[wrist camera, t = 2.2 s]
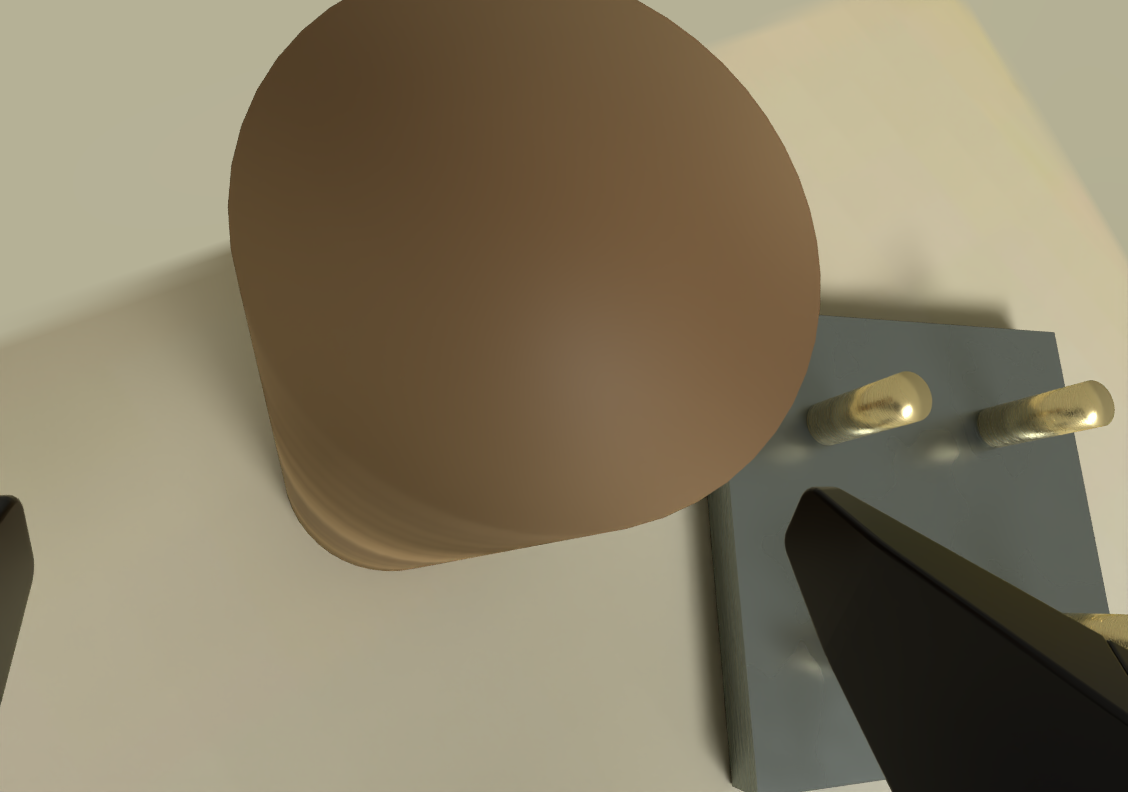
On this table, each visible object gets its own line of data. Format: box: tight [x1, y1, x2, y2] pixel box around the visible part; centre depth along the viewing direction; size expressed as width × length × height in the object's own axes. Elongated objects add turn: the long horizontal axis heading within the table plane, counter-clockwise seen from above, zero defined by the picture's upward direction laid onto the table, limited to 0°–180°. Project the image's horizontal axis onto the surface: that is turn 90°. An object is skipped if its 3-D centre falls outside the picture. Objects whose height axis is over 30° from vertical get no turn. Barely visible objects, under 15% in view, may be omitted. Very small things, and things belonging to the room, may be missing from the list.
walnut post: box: [228, 0, 820, 571], centre depth 12 cm, size 5×5×13 cm
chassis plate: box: [708, 315, 1128, 792], centre depth 20 cm, size 12×12×4 cm
